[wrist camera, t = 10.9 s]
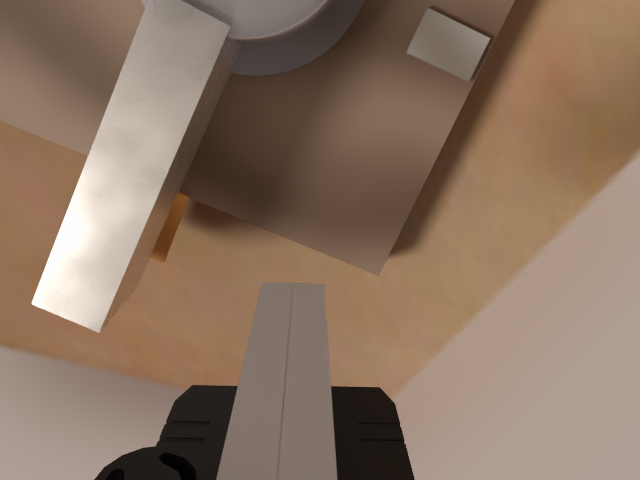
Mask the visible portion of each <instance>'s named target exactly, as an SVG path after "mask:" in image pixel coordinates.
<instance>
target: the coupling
mask: <svg viewBox="0 0 640 480" xmlns="http://www.w3.org/2000/svg"><path fill="white" fill-rule="evenodd" d="M332 2H333V0H148V2H147V5H146V8H145V10H144V13H143V15H142V18H141V21H140V23H139V26H138V28H137V31H136V34H135V36H134V39H133V41H132V44H131V47H130V49H129V52H128V54H127V57H126V59H125V62H124V65H123V67H122V70H121V72H120V75H119V78H118V80H117V83H116V85H115V88H114V91H113V93H112V96H111V98H110V101H109V104H108V106H107V109H106V111H105V114H104V117H103V119H102V122H101V124H100V127H99V130H98V132H97V135H96V137H95V140H94V143H93V145H92V148H91V150H90V153H89V155H88V158H87V161H86V163H85V166H84V168H83V171H82V174H81V176H80V179H79V181H78V184H77V187H76V189H75V192H74V194H73V197H72V200H71V202H70V205H69V207H68V210H67V213H66V215H65V218H64V220H63V223H62V226H61V228H60V231H59V233H58V236H57V239H56V241H55V244H54V246H53V249H52V251H51V254H50V257H49V259H48V262H47V264H46V267H45V270H44V272H43V275H42V277H41V280H40V283H39V285H38V288H37V290H36V293H35V296H34V298H33V301H32V303H31V304H32V305H35V306H37V307H39V308H42V309H44V310H47V311H49V312H51V313H54V314H56V315H58V316H61V317H63V318H66V319H68V320H70V321H73V322H75V323H77V324H80V325H82V326H85V327H87V328H89V329H92V330H94V331H96V332H100V331H101V330H102V329H103V327H104V326H105V325H106V324H107V323H108V322H109V320H110V319H111V318H112V317H113V316H114V314H115V313H116V312H117V311H118V310H119V309H120V307H121V306H122V305H123V304H124V303H125V302H126V300H127V299H128V298H129V297H130V296H131V294H132V293H133V292H134V291H135V290H136V287H137V285H138V283H139V281H140V278H141V276H142V274H143V272H144V269H145V267H146V265H147V262H148V260H149V258H150V256H151V253H152V251H153V249H154V246H155V244H156V242H157V240H158V237H159V235H160V233H161V231H162V228H163V226H164V224H165V221H166V219H167V217H168V215H169V212H170V210H171V208H172V205H173V203H174V201H175V199H176V196H177V194H178V192H179V189H180V187H181V185H182V183H183V180H184V178H185V176H186V174H187V171H188V169H189V167H190V164H191V162H192V160H193V158H194V155H195V153H196V151H197V148H198V146H199V144H200V142H201V139H202V137H203V135H204V133H205V130H206V128H207V126H208V123H209V121H210V119H211V117H212V114H213V112H214V110H215V107H216V105H217V103H218V101H219V98H220V96H221V94H222V92H223V89H224V87H225V85H226V82H227V80H228V78H229V76H230V73H231V71H232V69H233V66H234V64H235V62H236V60H237V57H238V55H239V53H240V51H241V48H242V46H254V47H260V46H267V45H273V44H277V43H280V42H284V41H286V40H288V39H291V38H293V37H295V36H297V35H299V34H300V33H302V32H304V31H305V30H307V29H308V28H309V27H310V26H312V25H313V24H314V23H315V22H316V21H317V20H318V19H319V18H320V17H321V16H322V15H323V14H324V13H325V11H326V10H327V9H328V7H329V6H330V5H331V3H332Z"/></svg>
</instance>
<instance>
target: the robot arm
mask: <svg viewBox="0 0 640 480" xmlns="http://www.w3.org/2000/svg"><path fill="white" fill-rule="evenodd" d="M95 480H414V476H413V472H412V468H411V464H410V460H409V456H408V452H407V448H406V445H405V444H404V437H403V433H402V429H401V427H400V422H399V418H398V414H397V410H396V406H395V404H394V402H393V401H392V400H391V399H390V398H389V397H388V396H387V395H386V394H385V393H384V391H383V390H382V389H381V388H380V387H337V386H331V379H330V364H329V350H328V335H327V320H326V305H325V291H324V284H304V283H268V282H262V284H261V289H260V293H259V297H258V302H257V306H256V310H255V315H254V319H253V323H252V328H251V332H250V336H249V340H248V345H247V349H246V353H245V358H244V362H243V366H242V371H241V375H240V379H239V383H238V386H208V385H192V386H191V387H190V388H189V389H188V390H187V391H185V392H184V393H183V394H182V395H181V396H180V397H179V398H178V399H177V400H175V402H174V404H173V406H172V409H171V411H170V414H169V416H168V418H167V422H166V425H165V426H164V428H163V430H162V433H161V435H160V440H159V441H158V442H157V445H156V447H147V448H142V449H139V450H136V451H133V452H130V453H128V454H125V455H122V456H121V457H119V458H118V459H116V460H115V461H113V462H112V463H110V464H109V465H107V466H106V467H104V468H103V470H102V471H101V472H100V473H99V475H98V476H97V477H96V478H95Z"/></svg>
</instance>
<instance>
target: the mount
mask: <svg viewBox="0 0 640 480" xmlns="http://www.w3.org/2000/svg"><path fill="white" fill-rule="evenodd" d="M514 1H515V0H333V2H332V3H331V5H330V6H329V7H328V9H327V10H326V11H325V13H324V14H323V15H322V16H321V17H320V18H319V19H318V20H317V21H316V22H315V23H314V24H313V25H312V26H310V27H309V28H308V29H307V30H305V31H304V32H302V33H300V34H299V35H297V36H295V37H293V38H291V39H288V40H286V41H284V42H280V43H277V44H273V45H267V46H260V47H254V46H242V48H241V51H240V53H239V55H238V57H237V60H236V62H235V64H234V66H233V69H232V71H231V73H230V76H229V78H228V80H227V82H226V85H225V87H224V89H223V92H222V94H221V96H220V98H219V101H218V103H217V105H216V107H215V110H214V112H213V114H212V117H211V119H210V121H209V123H208V126H207V128H206V130H205V133H204V135H203V137H202V139H201V142H200V144H199V146H198V148H197V151H196V153H195V155H194V158H193V160H192V162H191V164H190V167H189V169H188V171H187V174H186V176H185V178H184V180H183V183H182V185H181V187H180V189H179V192H178V194H177V196H176V199H175V201H174V203H173V205H172V208H171V210H170V212H169V215H168V217H167V219H166V221H165V224H164V226H163V228H162V231H161V233H160V235H159V237H158V240H157V242H156V244H155V246H154V249H153V251H152V253H151V256H150V258H153V259H155V260H158V261H160V262H163V263H164V261H165V260H166V257H167V254H168V252H169V249H170V246H171V244H172V241H173V238H174V236H175V233H176V230H177V228H178V225H179V222H180V220H181V217H182V214H183V212H184V209H185V206H186V204H187V201H188V198H190V199H193V200H195V201H198V202H200V203H202V204H205V205H207V206H210V207H212V208H215V209H217V210H220V211H222V212H224V213H227V214H229V215H232V216H234V217H237V218H239V219H241V220H244V221H246V222H249V223H251V224H254V225H256V226H258V227H261V228H263V229H266V230H268V231H271V232H273V233H276V234H278V235H280V236H283V237H285V238H288V239H290V240H293V241H295V242H297V243H300V244H302V245H305V246H307V247H310V248H312V249H314V250H317V251H319V252H322V253H324V254H327V255H329V256H332V257H334V258H336V259H339V260H341V261H344V262H346V263H349V264H351V265H353V266H356V267H358V268H361V269H363V270H366V271H368V272H370V273H373V274H375V275H378V276H379V274H380V272H381V270H382V268H383V266H384V264H385V262H386V260H387V258H388V256H389V254H390V252H391V250H392V248H393V246H394V244H395V242H396V240H397V238H398V236H399V234H400V232H401V230H402V228H403V226H404V224H405V222H406V220H407V217H408V215H409V213H410V211H411V209H412V207H413V205H414V203H415V201H416V199H417V197H418V195H419V193H420V191H421V189H422V187H423V185H424V183H425V181H426V179H427V177H428V175H429V173H430V171H431V169H432V167H433V165H434V163H435V161H436V159H437V157H438V155H439V153H440V151H441V149H442V147H443V145H444V143H445V141H446V139H447V137H448V135H449V133H450V131H451V129H452V127H453V125H454V123H455V121H456V118H457V116H458V114H459V112H460V110H461V108H462V106H463V104H464V102H465V100H466V98H467V96H468V94H469V92H470V90H471V88H472V86H473V84H474V82H475V80H476V78H477V76H478V74H479V72H480V70H481V68H482V66H483V64H484V62H485V60H486V58H487V56H488V54H489V52H490V50H491V48H492V46H493V44H494V42H495V40H496V38H497V36H498V34H499V32H500V30H501V28H502V26H503V24H504V22H505V19H506V17H507V15H508V13H509V11H510V9H511V7H512V5H513V3H514ZM147 2H148V0H0V121H3V122H5V123H8V124H10V125H13V126H15V127H17V128H20V129H22V130H25V131H27V132H30V133H32V134H35V135H37V136H39V137H42V138H44V139H47V140H49V141H52V142H54V143H56V144H59V145H61V146H64V147H66V148H69V149H71V150H73V151H76V152H78V153H81V154H83V155H86V156H88V155H89V153H90V150H91V148H92V145H93V143H94V140H95V137H96V135H97V132H98V130H99V127H100V124H101V122H102V119H103V117H104V114H105V111H106V109H107V106H108V104H109V101H110V98H111V96H112V93H113V91H114V88H115V85H116V83H117V80H118V78H119V75H120V72H121V70H122V67H123V65H124V62H125V59H126V57H127V54H128V52H129V49H130V47H131V44H132V41H133V39H134V36H135V34H136V31H137V28H138V26H139V23H140V21H141V18H142V15H143V13H144V10H145V8H146V5H147Z"/></svg>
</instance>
